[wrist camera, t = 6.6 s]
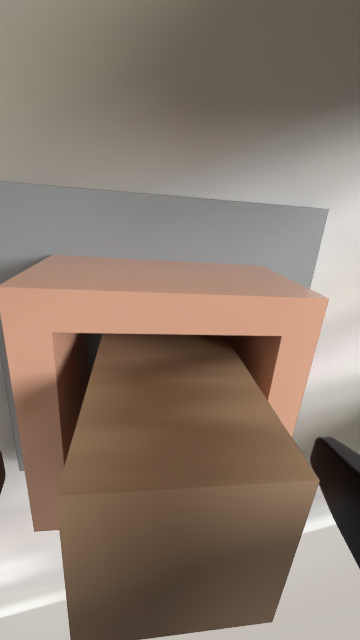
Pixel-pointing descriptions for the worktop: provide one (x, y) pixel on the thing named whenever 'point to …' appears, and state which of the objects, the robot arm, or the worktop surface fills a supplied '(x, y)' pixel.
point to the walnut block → (177, 493)
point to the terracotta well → (144, 300)
